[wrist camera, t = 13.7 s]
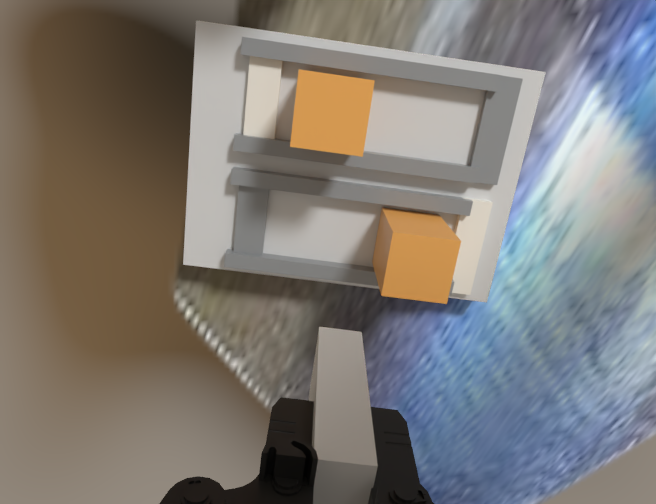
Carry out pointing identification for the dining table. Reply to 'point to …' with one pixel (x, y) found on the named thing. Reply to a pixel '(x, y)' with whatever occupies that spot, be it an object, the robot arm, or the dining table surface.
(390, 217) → the tab
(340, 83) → the orange block
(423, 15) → the dining table surface
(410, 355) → the dining table surface
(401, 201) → the switch board
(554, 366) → the dining table surface
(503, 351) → the dining table surface
